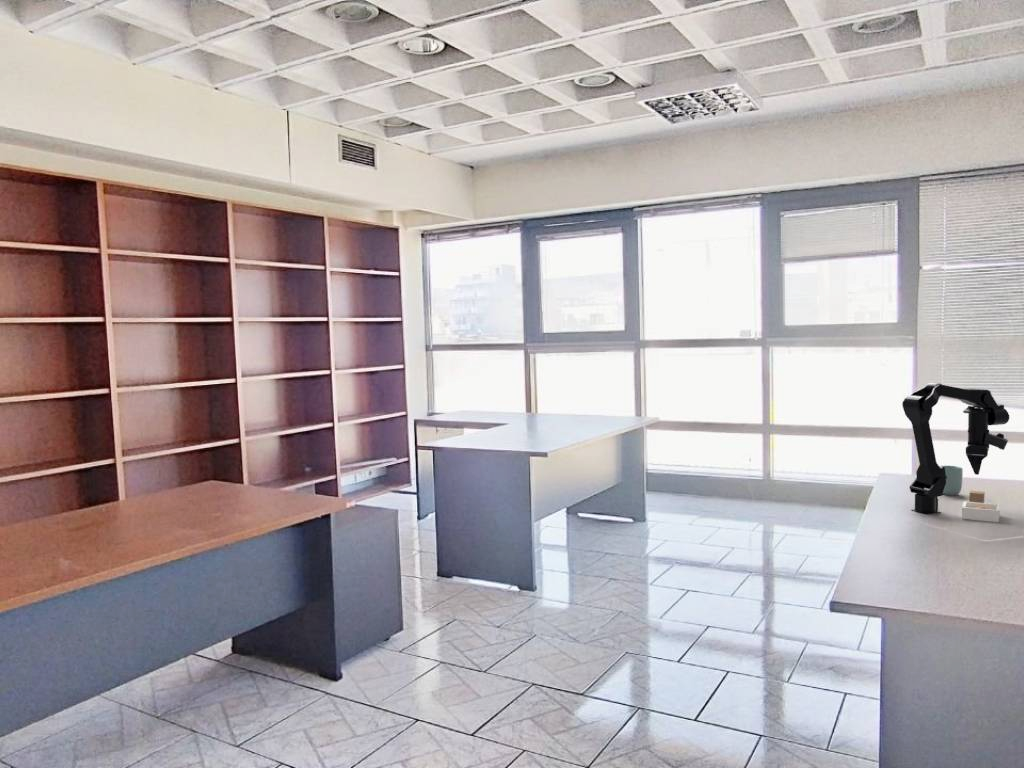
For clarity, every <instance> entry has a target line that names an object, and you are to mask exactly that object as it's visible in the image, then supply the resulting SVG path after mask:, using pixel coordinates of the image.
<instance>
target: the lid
mask: <svg viewBox="0 0 1024 768" xmlns="http://www.w3.org/2000/svg"><path fill="white" fill-rule="evenodd" d="M985 495H986V493H985V491H980V490H970V492H969V498H968V499H969V501H968V502H976V503H985Z"/></svg>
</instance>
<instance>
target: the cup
mask: <svg viewBox="0 0 1024 768" xmlns="http://www.w3.org/2000/svg"><path fill="white" fill-rule="evenodd" d="M941 466H942V467H944V468H945V473H946V477H947V479H946V485H945V487H944V491H943V494H942V495H944V496H945V495H946V496H957V495H959V494H960V493H961V492H962V487H963V467H961V466H956V465H941Z"/></svg>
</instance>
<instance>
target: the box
mask: <svg viewBox="0 0 1024 768" xmlns="http://www.w3.org/2000/svg"><path fill="white" fill-rule="evenodd" d="M979 506H983V507H985V508H986V509H979V508H977V507H979ZM1000 506H1001V505H1000V504H999V503H998V504H997V503H986V502H984V503H976V502H969V501H963V503H962V507H961V519H963V520H974V521H983V522H984V521H985V522H996V523H999V522H1000V518H1001V517H1000V516H1001V512H1000V511H1001V507H1000Z"/></svg>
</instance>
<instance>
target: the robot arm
mask: <svg viewBox="0 0 1024 768" xmlns="http://www.w3.org/2000/svg"><path fill="white" fill-rule="evenodd" d="M941 397H942V398H943V397H944V398H948V399H953V400H958V401H960V402H962V403H963V404H966V405H968V406H967V407H966V408H965V409H964V410H963V411H962V413H963V414H968V415H967V416H968V420H967V422H968V423H967V424H968V425H967V427H968V428H967V446H966V447H965V454H966V458H967V459H968V462H969V463H970V466H971V468H972V470H973V473H974V475H979V474H980V471H981V467H982V462H983V460H984V459H985V458H987V457H988V455H989V451H990V446H993V447H996V448H998V449H999V450H1003V451H1004V450H1005V448H1006V446H1007V444H1008V443H1009V442H1008V441H1009V439H1008V438H1005V435H1004V434H1003V433H1000V432H998V433H997V434H992V433H990V429H989V426H1000V425H1005V424H1007V423H1008V422H1009V421H1010V415H1009V411H1008V410H1007V409H1005V405H1004V404H997V402H996V400H995V398H994V396H993V395H992V393H991V391H990V390H989V389H984V388H983V389H981V388H961V387H956V386H950V385H946V384H942V383H940V382H939V383H938V382H928V383H926V384H925V385H924V386H923V387H922V388H920V389H917V390H915V391H913V392H911V394H909V395H907V396H906V397H905V398H904V399H903V401H902V403H901V404H902V410H903V412H904V415H905V416H906V418H907V419H908V420H909V421H910V423H911V425H912V430H913V436H914V441H915V446H916V451H917V456H918V462H919V464H918V467H917V469H916V471H915V472H916V474H915V475H916V478H915V479H914V480H913V482H912V483H911V484H910V485H909V490H910V493H914V509H911V510H910V511H911V512H916V513H919V514H922V515H936V514H941V513H942V512H941V511H939V499H938V498H939V497H942V496H943V495H944V494H943V491H944V487H945V485H946V479H947V477H946V473H945V468H944V467H942V466H943V465H939V464H938V462H937V458H936V453H935V448H934V442H933V436H932V432H931V431H932V430H931V427H930V426H931V425H930V419H931V417H932V415H933V408H934V406H936V405H937V404H938V402H939V399H940V398H941Z"/></svg>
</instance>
